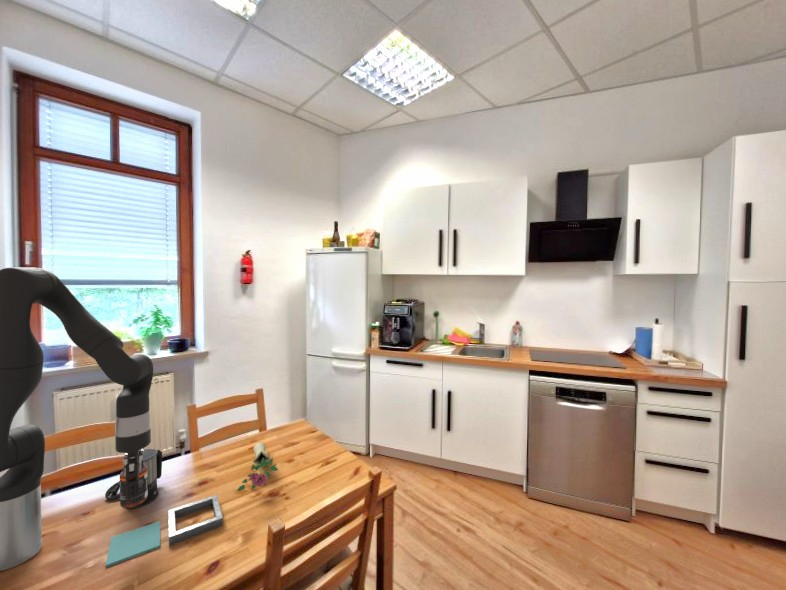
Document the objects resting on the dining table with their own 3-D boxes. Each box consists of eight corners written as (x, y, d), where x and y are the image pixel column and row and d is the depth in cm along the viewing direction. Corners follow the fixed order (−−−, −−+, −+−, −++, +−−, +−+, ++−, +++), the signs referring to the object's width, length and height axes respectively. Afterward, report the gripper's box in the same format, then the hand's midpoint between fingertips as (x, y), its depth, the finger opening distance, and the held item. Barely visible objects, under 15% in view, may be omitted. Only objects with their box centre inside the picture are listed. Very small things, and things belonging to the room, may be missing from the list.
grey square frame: (168, 546, 87) (168, 537, 87) (168, 518, 98) (168, 510, 98) (222, 526, 95) (222, 517, 95) (216, 502, 105) (216, 494, 105)
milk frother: (153, 505, 104) (152, 459, 103) (90, 518, 98) (90, 469, 98) (165, 480, 117) (165, 440, 117) (111, 490, 111) (110, 448, 111)
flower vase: (268, 472, 136) (274, 503, 105) (237, 469, 132) (234, 500, 100) (276, 442, 139) (285, 463, 108) (247, 438, 135) (247, 459, 104)
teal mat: (105, 567, 81) (105, 565, 81) (111, 539, 90) (111, 537, 90) (159, 547, 87) (159, 545, 87) (160, 523, 96) (160, 521, 96)
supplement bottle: (153, 496, 90) (153, 456, 90) (132, 510, 84) (131, 468, 84) (136, 493, 91) (135, 454, 91) (114, 507, 86) (113, 465, 85)
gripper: (149, 435, 84) (150, 499, 84) (151, 417, 96) (152, 473, 96) (111, 443, 80) (112, 511, 80) (118, 423, 91) (119, 482, 92)
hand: (134, 490), depth 88 cm, fingers closed on supplement bottle, 6 cm apart
